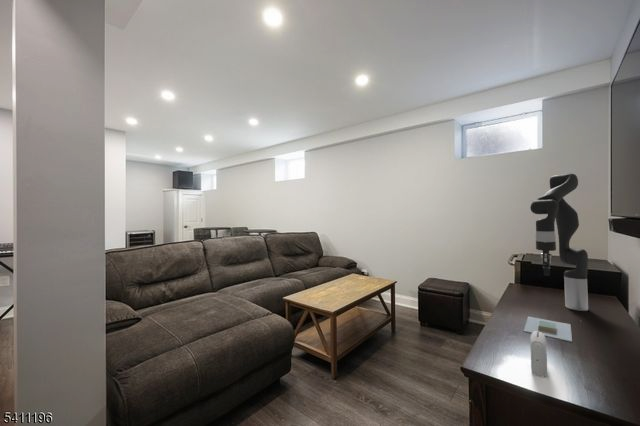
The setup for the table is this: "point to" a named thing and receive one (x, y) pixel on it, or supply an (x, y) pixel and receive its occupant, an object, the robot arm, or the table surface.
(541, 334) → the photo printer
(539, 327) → the tile
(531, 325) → the mat
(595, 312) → the table surface
